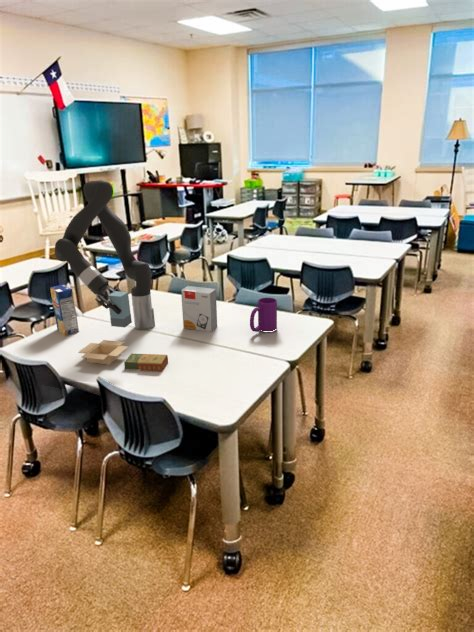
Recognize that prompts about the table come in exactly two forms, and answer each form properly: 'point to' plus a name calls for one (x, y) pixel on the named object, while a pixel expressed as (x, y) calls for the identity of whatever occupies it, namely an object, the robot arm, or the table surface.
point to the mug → (265, 315)
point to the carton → (146, 362)
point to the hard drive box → (199, 308)
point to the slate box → (123, 303)
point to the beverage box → (64, 309)
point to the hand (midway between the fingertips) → (123, 310)
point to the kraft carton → (103, 351)
